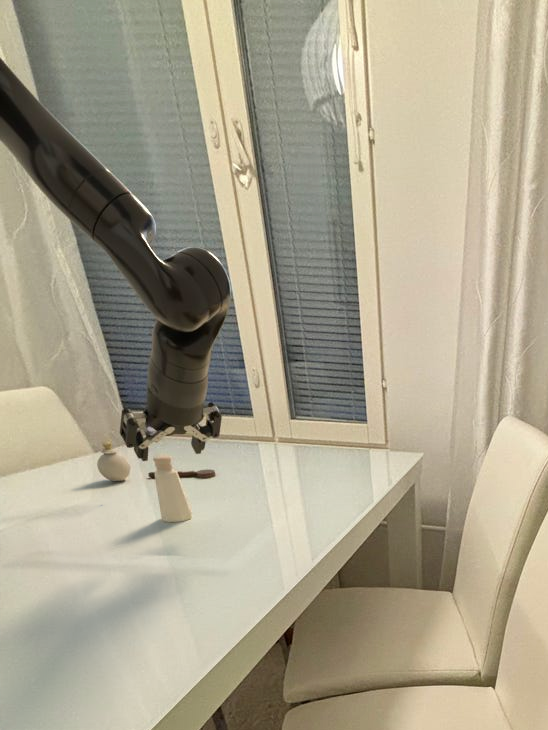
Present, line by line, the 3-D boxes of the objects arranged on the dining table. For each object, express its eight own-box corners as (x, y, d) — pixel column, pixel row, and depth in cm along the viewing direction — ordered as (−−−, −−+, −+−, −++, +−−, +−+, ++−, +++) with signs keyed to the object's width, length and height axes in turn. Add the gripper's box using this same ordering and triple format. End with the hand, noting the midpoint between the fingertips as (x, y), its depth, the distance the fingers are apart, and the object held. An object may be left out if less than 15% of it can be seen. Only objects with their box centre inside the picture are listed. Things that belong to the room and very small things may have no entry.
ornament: (99, 485, 118) (83, 436, 113) (107, 476, 125) (92, 430, 119) (130, 483, 120) (116, 435, 115) (137, 475, 126) (124, 429, 121)
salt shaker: (171, 512, 104) (154, 452, 98) (199, 513, 104) (184, 453, 98) (155, 521, 99) (137, 459, 94) (184, 522, 99) (168, 460, 93)
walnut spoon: (146, 480, 123) (145, 474, 122) (151, 475, 126) (149, 470, 126) (214, 477, 126) (213, 472, 125) (216, 473, 129) (215, 468, 129)
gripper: (215, 362, 84) (202, 429, 97) (111, 365, 75) (112, 439, 88) (237, 403, 84) (221, 465, 96) (135, 411, 75) (133, 478, 88)
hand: (169, 452), depth 92 cm, fingers open, 8 cm apart
